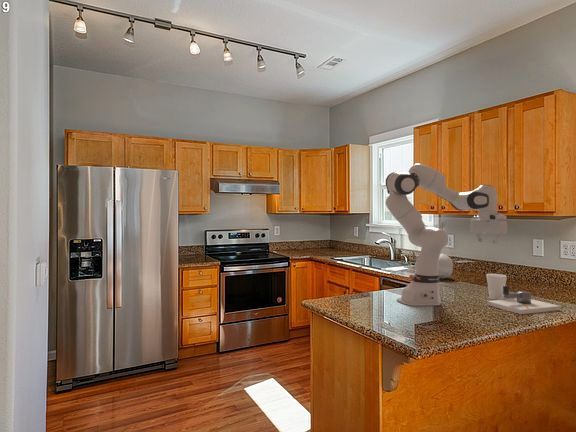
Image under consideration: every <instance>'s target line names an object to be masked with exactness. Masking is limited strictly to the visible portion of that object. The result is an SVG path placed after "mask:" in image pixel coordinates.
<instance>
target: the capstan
mask: <svg viewBox="0 0 576 432" xmlns="http://www.w3.org/2000/svg"><path fill="white" fill-rule="evenodd" d="M509 287H510V286H509V285H506V284H505V285H504V286H503V294H504V296H503V298H504V299H517V302H519V303H524V304H531V299H532V292H530V291H525V290H518V291H516V292H510V289H509Z"/></svg>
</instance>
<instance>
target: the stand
mask: <svg viewBox="0 0 576 432" xmlns="http://www.w3.org/2000/svg"><path fill="white" fill-rule="evenodd" d="M486 305H487V306H489V307H493V308H498V309H500V310H504V311H508V312H510V311H511V313H513V314H514V313H515V314H517V313H518V315H525V314H536V313H546V312H554V311H561V305H558V304H553V303H548V302H544V301H539V300H537V299H532V298H531V304H524V303H519V302H517V298H504V299H503V300H487V301H486Z"/></svg>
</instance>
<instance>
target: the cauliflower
mask: <svg viewBox="0 0 576 432" xmlns="http://www.w3.org/2000/svg"><path fill="white" fill-rule="evenodd" d="M414 269H415V270H416V261H415V263H414ZM453 269H454V263H453V260H452V259H451V257H450V256H449V255H447V254H445V253H441V254H440V257H439V264H438V275H439V280H441V279H446V278H449V277H451V275H452V273H453Z"/></svg>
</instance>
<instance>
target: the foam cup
mask: <svg viewBox="0 0 576 432" xmlns="http://www.w3.org/2000/svg"><path fill="white" fill-rule="evenodd" d="M507 277H508V275H505V274H501V273H487V274H486V281H487V282H486V283H487V289H488V290H487V291H488V297H489V300H491V301H493V300H504V294H503V286H504V285H505V286H506V284H507Z"/></svg>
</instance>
